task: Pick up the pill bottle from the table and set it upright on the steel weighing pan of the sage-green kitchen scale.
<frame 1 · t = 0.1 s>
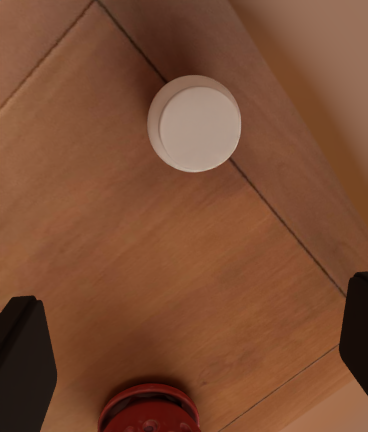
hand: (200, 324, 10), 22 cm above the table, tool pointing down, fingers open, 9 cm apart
pill bottle: (184, 117, 29), on the table
flower pot: (152, 412, 40), on the table
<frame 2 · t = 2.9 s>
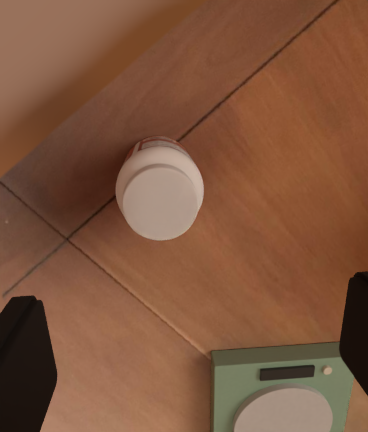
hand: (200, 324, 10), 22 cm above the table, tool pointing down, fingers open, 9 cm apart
scale: (274, 398, 41), on the table
pill bottle: (158, 168, 31), on the table
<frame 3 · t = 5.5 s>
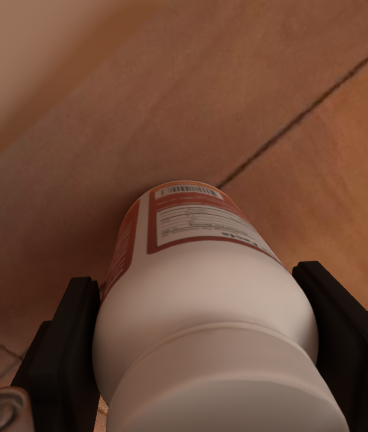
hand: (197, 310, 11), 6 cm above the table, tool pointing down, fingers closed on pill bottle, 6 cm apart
pill bottle: (182, 236, 17), on the table, touching gripper
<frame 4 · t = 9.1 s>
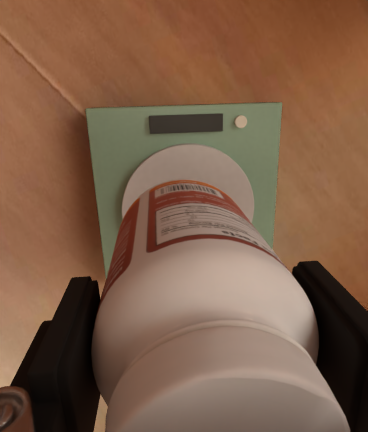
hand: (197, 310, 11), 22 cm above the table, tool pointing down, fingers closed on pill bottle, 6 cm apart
scale: (185, 193, 32), on the table
pill bottle: (182, 235, 17), point 15 cm above the table, touching gripper
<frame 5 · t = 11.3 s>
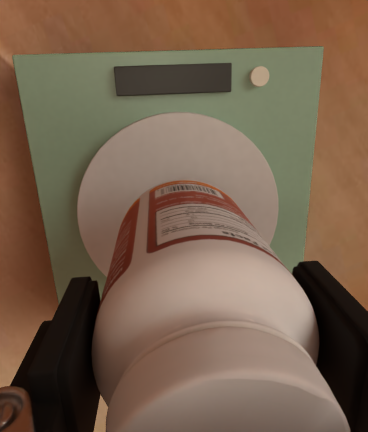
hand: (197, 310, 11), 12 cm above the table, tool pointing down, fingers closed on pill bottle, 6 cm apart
scale: (176, 189, 22), on the table
pill bottle: (182, 235, 17), point 6 cm above the table, touching gripper
when the fingers open (9 cm above the table, at t = 12.6 s): pill bottle stays where it is, resting on scale.
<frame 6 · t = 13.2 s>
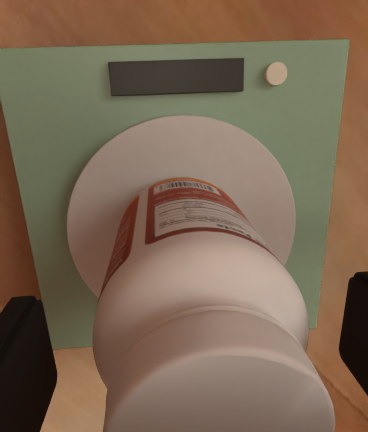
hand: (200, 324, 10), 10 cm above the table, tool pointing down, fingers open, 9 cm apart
scale: (179, 200, 20), on the table
pill bottle: (181, 231, 17), point 3 cm above the table, touching scale
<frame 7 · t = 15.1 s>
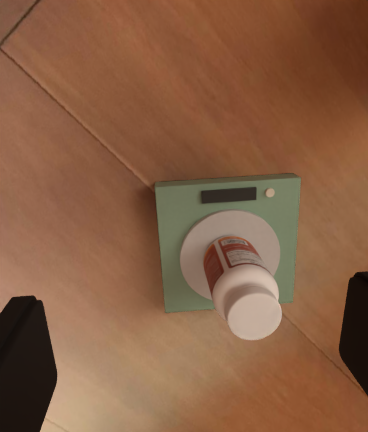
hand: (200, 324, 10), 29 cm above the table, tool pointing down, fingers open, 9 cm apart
scale: (225, 241, 41), on the table
pill bottle: (229, 257, 39), point 3 cm above the table, touching scale
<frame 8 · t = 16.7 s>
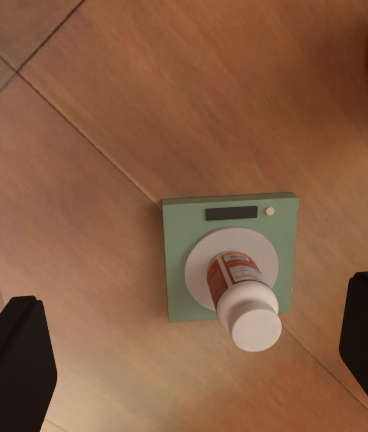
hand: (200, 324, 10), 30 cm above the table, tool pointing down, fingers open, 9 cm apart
scale: (226, 254, 43), on the table
pill bottle: (230, 271, 41), point 3 cm above the table, touching scale
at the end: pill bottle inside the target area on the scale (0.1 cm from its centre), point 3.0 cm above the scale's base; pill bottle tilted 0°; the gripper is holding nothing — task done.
